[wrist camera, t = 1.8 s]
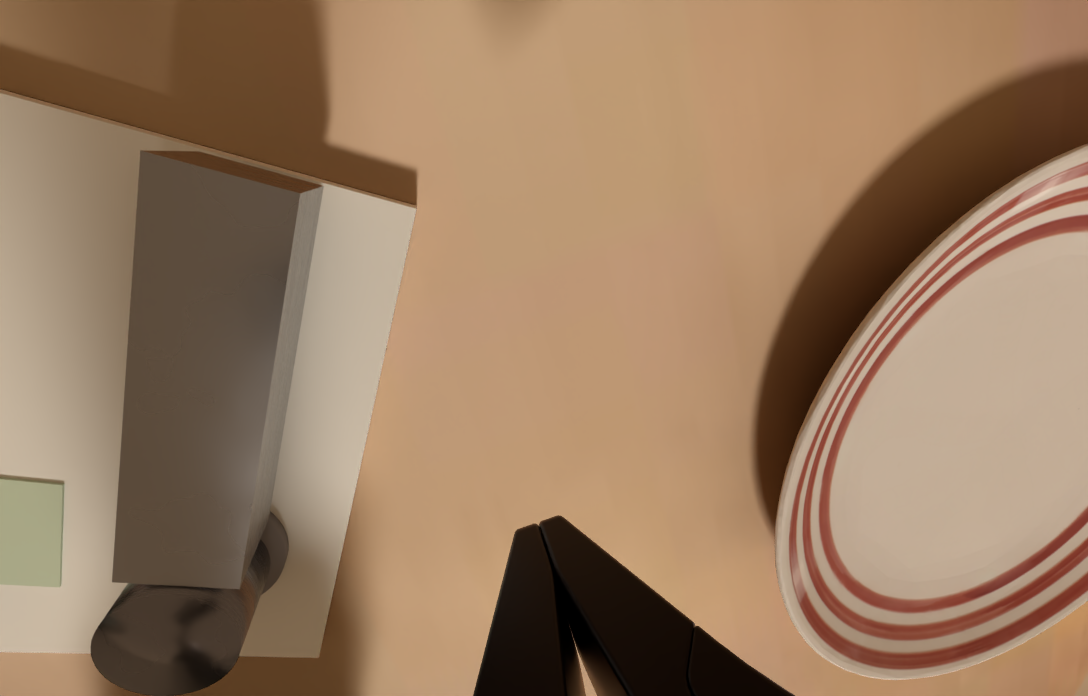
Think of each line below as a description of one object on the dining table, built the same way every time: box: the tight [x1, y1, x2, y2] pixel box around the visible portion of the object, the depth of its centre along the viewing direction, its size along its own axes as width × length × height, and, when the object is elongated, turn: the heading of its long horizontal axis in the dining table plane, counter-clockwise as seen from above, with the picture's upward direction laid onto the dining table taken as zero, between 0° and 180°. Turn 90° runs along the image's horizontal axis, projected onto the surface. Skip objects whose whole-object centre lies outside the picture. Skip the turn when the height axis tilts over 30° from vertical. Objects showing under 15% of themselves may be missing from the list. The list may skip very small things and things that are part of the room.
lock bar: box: [90, 150, 324, 696], centre depth 14 cm, size 15×4×3 cm, turn 163°
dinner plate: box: [775, 144, 1088, 680], centre depth 25 cm, size 27×27×3 cm
